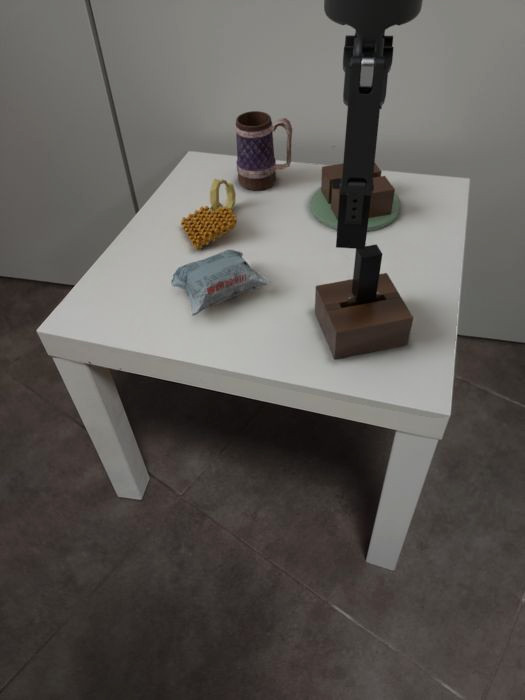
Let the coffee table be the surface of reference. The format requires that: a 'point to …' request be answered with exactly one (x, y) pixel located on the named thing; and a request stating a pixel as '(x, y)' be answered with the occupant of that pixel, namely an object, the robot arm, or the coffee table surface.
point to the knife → (366, 276)
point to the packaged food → (217, 279)
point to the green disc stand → (381, 204)
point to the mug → (258, 149)
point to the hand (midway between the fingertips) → (353, 206)
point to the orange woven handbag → (211, 217)
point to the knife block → (362, 319)
